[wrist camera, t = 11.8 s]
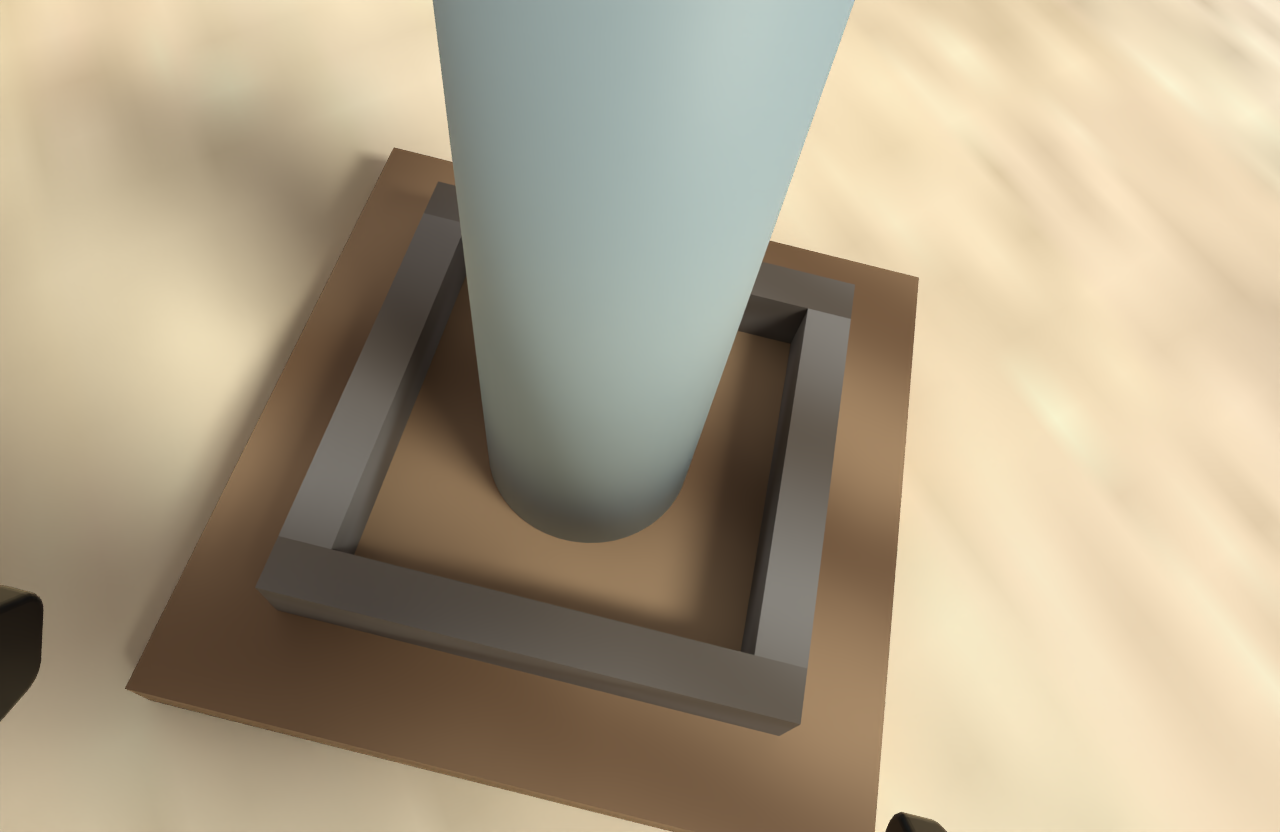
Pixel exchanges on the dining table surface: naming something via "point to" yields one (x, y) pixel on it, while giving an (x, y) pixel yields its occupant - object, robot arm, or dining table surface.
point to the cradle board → (562, 556)
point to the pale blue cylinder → (617, 226)
